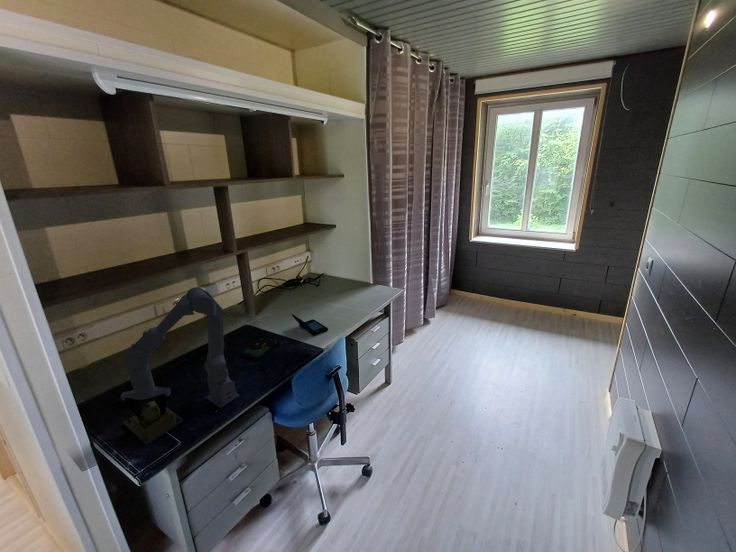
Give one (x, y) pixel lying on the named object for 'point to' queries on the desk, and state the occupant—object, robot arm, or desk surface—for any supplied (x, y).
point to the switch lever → (151, 412)
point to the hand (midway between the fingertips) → (152, 413)
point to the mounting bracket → (152, 426)
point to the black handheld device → (311, 326)
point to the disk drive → (261, 348)
